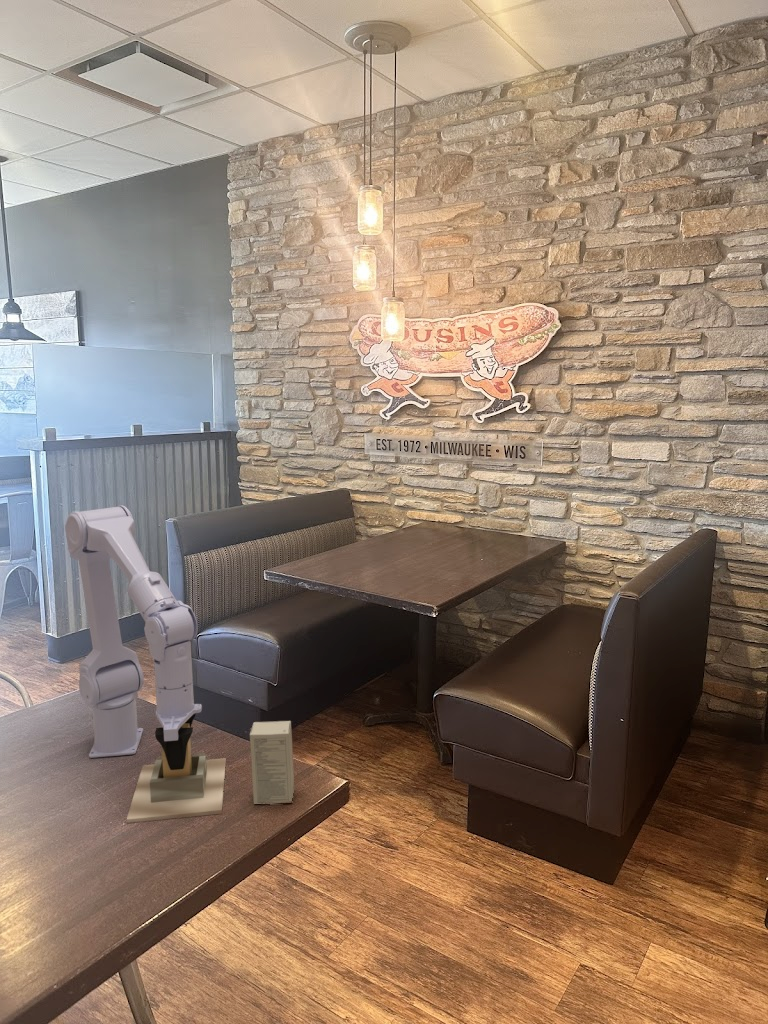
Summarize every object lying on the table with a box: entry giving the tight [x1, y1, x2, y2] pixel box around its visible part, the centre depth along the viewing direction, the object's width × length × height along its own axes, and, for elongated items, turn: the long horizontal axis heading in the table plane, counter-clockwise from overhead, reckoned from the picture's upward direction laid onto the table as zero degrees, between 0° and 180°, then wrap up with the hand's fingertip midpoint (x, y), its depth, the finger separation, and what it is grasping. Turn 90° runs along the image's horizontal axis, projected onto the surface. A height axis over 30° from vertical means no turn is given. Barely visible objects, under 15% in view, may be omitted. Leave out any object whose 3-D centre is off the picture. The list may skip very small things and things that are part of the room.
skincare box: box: [249, 720, 295, 804], centre depth 115 cm, size 6×4×12 cm
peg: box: [161, 723, 192, 778], centre depth 117 cm, size 4×4×8 cm
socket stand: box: [126, 752, 227, 824], centre depth 118 cm, size 16×14×4 cm
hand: (178, 761), depth 117 cm, fingers closed on peg, 4 cm apart
